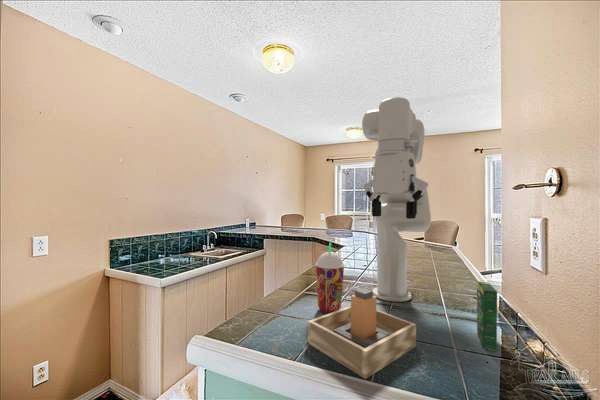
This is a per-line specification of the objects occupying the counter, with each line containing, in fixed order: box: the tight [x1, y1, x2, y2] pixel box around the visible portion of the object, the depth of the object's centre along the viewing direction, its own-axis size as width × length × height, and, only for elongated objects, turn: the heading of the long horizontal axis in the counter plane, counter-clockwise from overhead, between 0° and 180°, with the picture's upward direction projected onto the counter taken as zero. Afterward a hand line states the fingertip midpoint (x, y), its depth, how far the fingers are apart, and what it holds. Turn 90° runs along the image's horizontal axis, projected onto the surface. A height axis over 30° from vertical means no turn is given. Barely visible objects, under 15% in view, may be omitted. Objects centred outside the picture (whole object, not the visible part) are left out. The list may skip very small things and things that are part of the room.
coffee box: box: [476, 281, 498, 352], centre depth 64 cm, size 8×3×13 cm, turn 155°
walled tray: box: [307, 305, 417, 380], centre depth 62 cm, size 18×16×5 cm
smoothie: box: [315, 242, 345, 315], centre depth 81 cm, size 8×8×20 cm
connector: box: [350, 288, 378, 340], centre depth 62 cm, size 4×4×11 cm
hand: (392, 217), depth 70 cm, fingers open, 9 cm apart
